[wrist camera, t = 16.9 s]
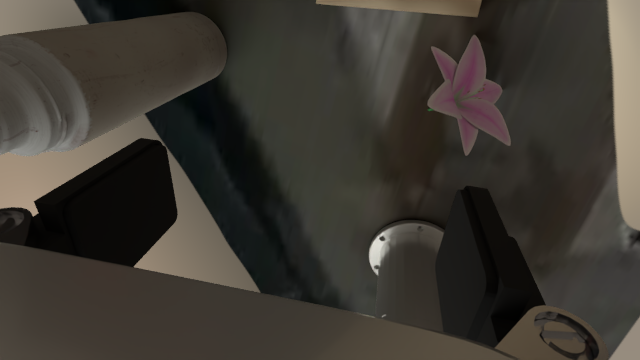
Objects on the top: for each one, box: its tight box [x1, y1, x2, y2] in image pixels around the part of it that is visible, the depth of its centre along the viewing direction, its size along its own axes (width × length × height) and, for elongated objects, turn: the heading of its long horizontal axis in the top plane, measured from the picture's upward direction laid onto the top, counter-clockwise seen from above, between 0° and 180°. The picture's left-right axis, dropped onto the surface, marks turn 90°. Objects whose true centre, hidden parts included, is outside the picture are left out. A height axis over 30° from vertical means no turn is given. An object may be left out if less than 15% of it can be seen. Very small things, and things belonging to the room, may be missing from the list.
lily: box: [428, 35, 511, 156], centre depth 36 cm, size 12×12×10 cm
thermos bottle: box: [0, 12, 227, 156], centre depth 31 cm, size 8×8×28 cm
